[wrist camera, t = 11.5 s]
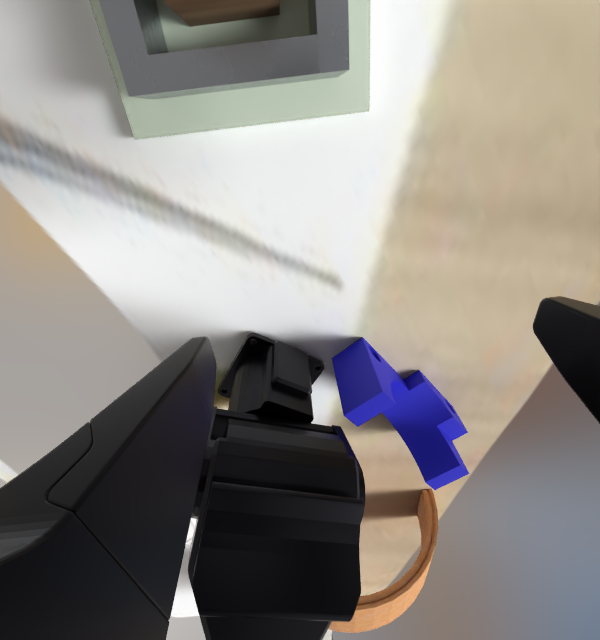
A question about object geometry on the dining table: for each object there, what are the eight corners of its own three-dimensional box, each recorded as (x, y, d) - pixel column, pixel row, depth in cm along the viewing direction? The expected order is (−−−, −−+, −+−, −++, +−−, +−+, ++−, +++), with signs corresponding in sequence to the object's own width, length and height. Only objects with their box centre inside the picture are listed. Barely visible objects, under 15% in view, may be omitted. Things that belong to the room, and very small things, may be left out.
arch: (424, 514, 40) (463, 622, 31) (259, 529, 40) (253, 642, 31) (431, 487, 37) (476, 598, 28) (252, 503, 37) (244, 620, 28)
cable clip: (451, 405, 30) (487, 464, 25) (409, 429, 31) (434, 489, 26) (377, 324, 25) (403, 378, 20) (331, 357, 26) (344, 415, 21)
